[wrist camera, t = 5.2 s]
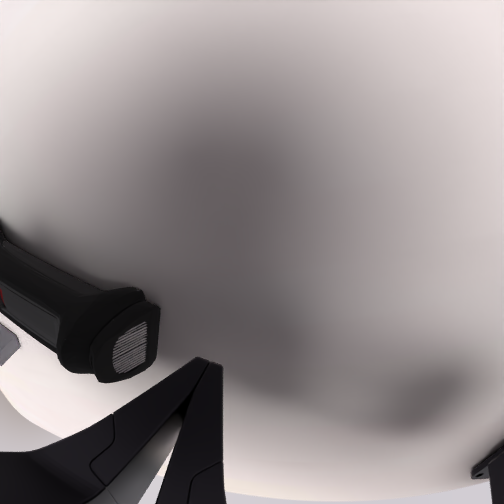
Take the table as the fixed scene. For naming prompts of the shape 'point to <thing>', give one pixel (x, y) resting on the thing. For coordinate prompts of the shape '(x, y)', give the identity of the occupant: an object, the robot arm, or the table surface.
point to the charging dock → (7, 344)
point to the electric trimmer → (78, 317)
